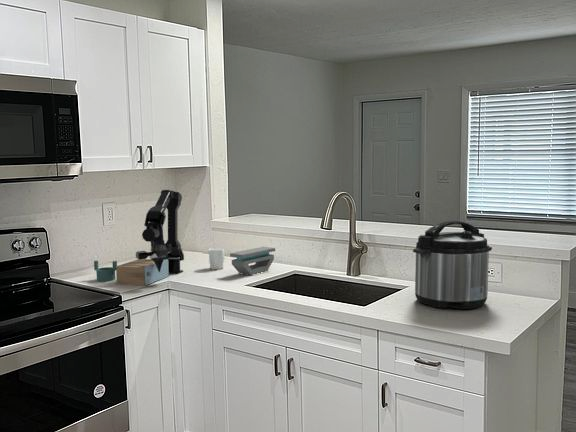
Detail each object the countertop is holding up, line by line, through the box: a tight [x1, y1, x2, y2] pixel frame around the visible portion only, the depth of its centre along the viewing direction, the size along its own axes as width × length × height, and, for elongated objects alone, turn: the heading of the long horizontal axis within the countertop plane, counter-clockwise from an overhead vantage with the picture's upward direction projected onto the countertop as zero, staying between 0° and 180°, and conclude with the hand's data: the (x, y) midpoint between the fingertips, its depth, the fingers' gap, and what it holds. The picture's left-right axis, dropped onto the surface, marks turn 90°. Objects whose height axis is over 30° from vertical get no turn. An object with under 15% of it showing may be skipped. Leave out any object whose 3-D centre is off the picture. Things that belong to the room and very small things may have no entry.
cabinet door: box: [144, 259, 170, 286], centre depth 267 cm, size 20×2×8 cm, turn 163°
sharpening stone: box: [229, 246, 276, 276], centre depth 285 cm, size 25×8×11 cm, turn 143°
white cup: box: [208, 247, 225, 270], centre depth 296 cm, size 8×8×10 cm
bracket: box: [93, 260, 118, 283], centre depth 271 cm, size 9×9×9 cm
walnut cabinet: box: [115, 258, 154, 287], centre depth 269 cm, size 20×14×8 cm
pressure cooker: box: [412, 220, 493, 310], centre depth 224 cm, size 30×28×32 cm
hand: (159, 271), depth 263 cm, fingers closed
